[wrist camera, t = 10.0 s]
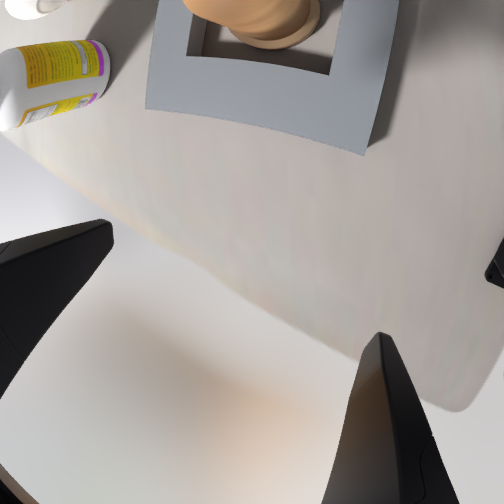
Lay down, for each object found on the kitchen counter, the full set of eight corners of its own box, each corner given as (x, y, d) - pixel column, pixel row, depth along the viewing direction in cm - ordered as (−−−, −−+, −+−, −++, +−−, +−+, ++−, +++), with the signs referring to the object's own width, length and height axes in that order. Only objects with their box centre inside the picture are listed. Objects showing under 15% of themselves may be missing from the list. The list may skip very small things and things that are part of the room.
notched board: (398, -13, 10) (402, -24, 8) (363, 150, 16) (364, 156, 15) (183, -31, 12) (168, -38, 11) (161, 105, 19) (144, 109, 18)
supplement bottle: (84, 32, 17) (-37, 49, 7) (124, 52, 17) (-18, 71, 7) (64, 90, 21) (-44, 125, 11) (98, 117, 21) (-24, 163, 11)
